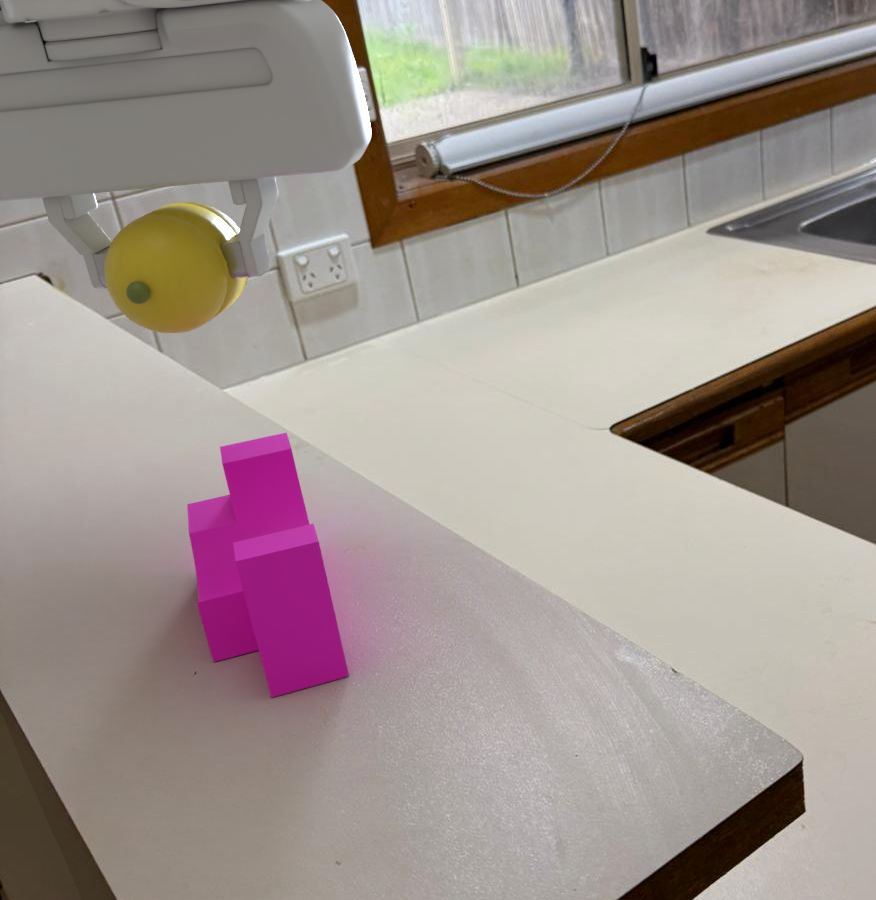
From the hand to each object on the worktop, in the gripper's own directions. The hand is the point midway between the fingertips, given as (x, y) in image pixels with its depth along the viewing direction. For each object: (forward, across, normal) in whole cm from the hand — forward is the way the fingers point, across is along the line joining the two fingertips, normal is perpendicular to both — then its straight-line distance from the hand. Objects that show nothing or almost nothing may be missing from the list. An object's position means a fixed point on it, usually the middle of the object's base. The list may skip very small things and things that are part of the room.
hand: (184, 280), depth 55 cm
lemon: (+2, 0, 0) cm, 2 cm away
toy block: (+19, 0, -1) cm, 19 cm away
